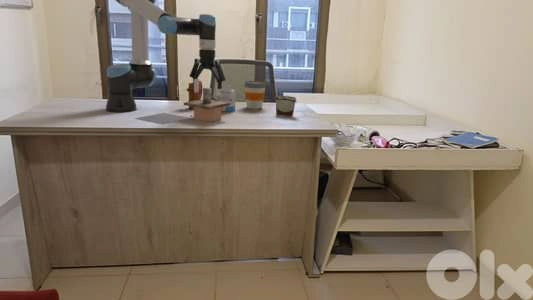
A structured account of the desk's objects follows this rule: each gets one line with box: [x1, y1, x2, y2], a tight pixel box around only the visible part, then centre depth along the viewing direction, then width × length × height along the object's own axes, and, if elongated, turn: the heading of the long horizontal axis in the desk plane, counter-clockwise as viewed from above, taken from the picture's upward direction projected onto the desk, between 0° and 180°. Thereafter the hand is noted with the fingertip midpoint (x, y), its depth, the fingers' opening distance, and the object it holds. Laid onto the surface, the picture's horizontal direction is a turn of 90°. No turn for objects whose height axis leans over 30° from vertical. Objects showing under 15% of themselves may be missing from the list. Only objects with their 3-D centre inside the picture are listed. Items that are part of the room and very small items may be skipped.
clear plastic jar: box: [217, 83, 236, 113], centre depth 213 cm, size 9×5×15 cm, turn 68°
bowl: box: [193, 107, 222, 122], centre depth 190 cm, size 13×13×7 cm
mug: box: [186, 80, 204, 110], centre depth 216 cm, size 15×8×15 cm, turn 168°
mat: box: [133, 112, 191, 126], centre depth 186 cm, size 19×19×1 cm
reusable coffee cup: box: [243, 80, 267, 110], centre depth 226 cm, size 13×13×15 cm
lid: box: [183, 87, 230, 109], centre depth 188 cm, size 16×16×8 cm
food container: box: [274, 95, 297, 117], centre depth 209 cm, size 12×6×10 cm, turn 65°
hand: (207, 93), depth 188 cm, fingers open, 13 cm apart
